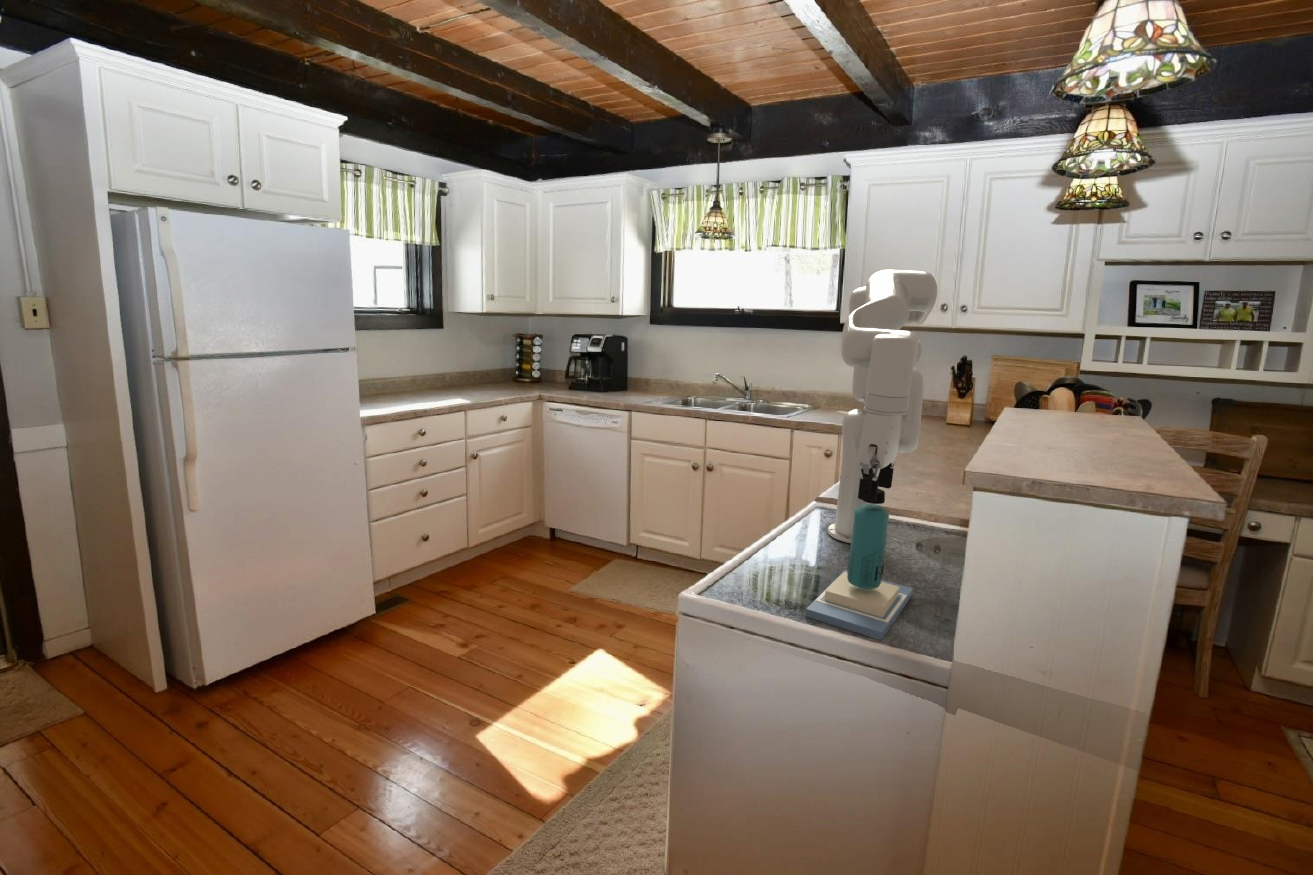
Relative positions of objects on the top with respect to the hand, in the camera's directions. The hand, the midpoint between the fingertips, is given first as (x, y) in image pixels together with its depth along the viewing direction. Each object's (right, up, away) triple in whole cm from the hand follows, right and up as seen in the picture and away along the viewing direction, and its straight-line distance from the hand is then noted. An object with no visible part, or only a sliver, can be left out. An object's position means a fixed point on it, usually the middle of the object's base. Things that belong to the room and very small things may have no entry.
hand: (874, 493), depth 129 cm
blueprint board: (-1, -22, +5) cm, 23 cm away
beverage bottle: (-1, -19, +4) cm, 19 cm away
